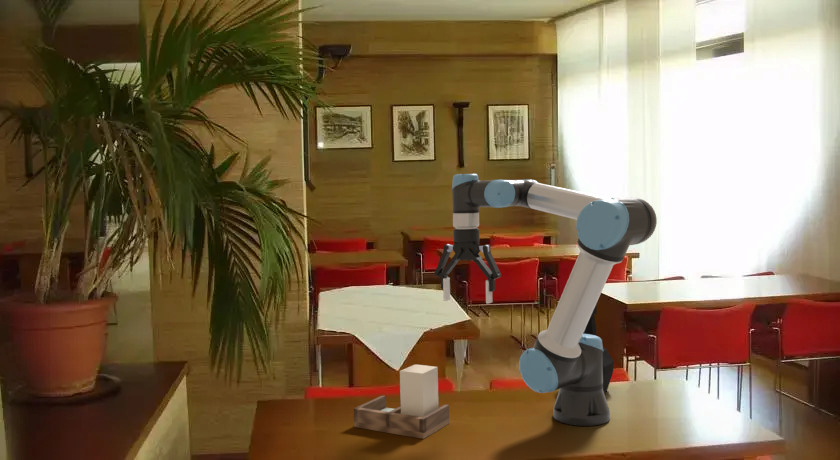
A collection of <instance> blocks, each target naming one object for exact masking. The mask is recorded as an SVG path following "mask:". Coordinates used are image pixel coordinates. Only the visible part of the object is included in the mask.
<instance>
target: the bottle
mask: <svg viewBox="0 0 840 460" xmlns="http://www.w3.org/2000/svg"><path fill="white" fill-rule="evenodd" d="M597 306H598V305H597V304H596V305H595V308H594V310H593V312H592V314H591V317H590V319H589V321H588V323H587V326H586V328H585V330H584V332H583V334H590V335H595V336H597V323H596V317H595V315H597V314H598V313H597V309H598V307H597ZM614 363H615V361H614V360H613V358H612V357H611V354H610V353H609V351H608V349H607V348H605V347H604V346H603V392H604V393H606V392H607V391H608V390H609V386H610V382H611V379H612V377H613V373H614Z"/></svg>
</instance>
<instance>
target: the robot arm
mask: <svg viewBox="0 0 840 460" xmlns="http://www.w3.org/2000/svg"><path fill="white" fill-rule="evenodd" d="M451 187H452V188H451V191H452V192H451V193H452V226H453V228H454V229H453V230H452V235H453V236H452V238H453V239H452V240H453V244H450V243H447V244H444V245H443V251H442V255H441V257H440V259H439V261H438V264H437V265H436V268H435V270H434V276H437V277H439V278H440V289H441V290H443V291H442V292H443V301H444V302H445V301H446V302H448V301H451V282H450V281H451V277H449V274H450V273H451V272H452V271H453V269H454V268H455V266H456V265H457V264H458V263H459V261H469V262H470V261H473V262H474V263H475V265H477V266H478V268H479V269H480V271H481V272H482V273H483V274H484V275H485V277H486V280H485V303H486V304H491V303H493V292H495V290H496V279H499V278H501V277H502V274H501V271H500V269H499V267H498V265H497V263H496V261H495V259H494V256H493V254H492V252H491V251H492V250H491V246H490V244H485V245H481V244H480V240H481V239H480V238H481V237H480V233H481V232H480V229H479V228H478V227H479V226H480V208H495V209H499V208H501V209H503V208H509V207H523V208H527V209H532V210H536V211H540V212H544V213H549V214H553V215H556V216H560V217H565V218H569V219H572V220H576V225H575V227H576V231H577V233H576V234H577V237H578V239H577V241H576V244H577V247H578V249H579V253H578V255H577V258H576V261H575V263H574V265H573V267H572V270H571V272H570V274H569V276H568V277H569V278H568V279H567V281H566V284H565V286H564V288H563V291H562V293H561V296H560V298H559V300H558V303H557V305H556V307H555V311H554V312H553V315H552V316H551V319H550V321H549V324H548V327H547V329H545V330H544V329H543V330H542V331H540V332H539V333H538V335H537V337H536V339H535V342H534V344H533V346H532V347H530V348H527V349H526V350H524V351H523V352H522V354H521V355H520V357H519V361H518V362H519V363H518V367H519V373H520V375H521V378H522V380H523V382H524V383H525V385H526V386H527V387H528V388H530V390H532V391H533V392H535V393H540V394H545V393H552V392H554V391H557V390H558V394H557V396H556V399H555V402H554V405H553V419H554V420H556V421H557V422H558V423H559V422H560V423H562V424H566V425H570V426H578V427H580V426H582V427H583V426H585V427H590V426H600V425H603V424H605V423H608V422H610V419H611V411H610V407H609V404H608V401H607V398H606V395H605V392H603V347H604V346H603V339H602V338H601V337H600V336H597V335H596V336H595V335H590V334H583V332H584V330H585V328H586V326H587V323H588V321H589V319H590V317H591V314H592V312H593V310H594V308H595V305H597V303H598V302H599V301H598V300H599V298H600V297H601V294H602V292H603V289H604V288H605V285H606V283H607V280H608V278H609V276H610V274H611V272H612V269H613V267H614V265H616V264H620V263H622V262H623V260H624V258H625V257H626V254H627V252H628V249H629V247H631V246H634V245H639V244H641V243H644V242H646V241H647V240H648V239H650V238H651V236H653V234H654V232H655V230H656V227H657V223H658V222H657V221H658V220H657V219H658V218H657V214H656V212H655V209H654V207H653V206H652V205H651V204H650V203H649V202H647V201H646V200H644V199H642V198H640V197H627V196H626V197H625V196H621V195H615V196H613V197H606V196H602V195H597V194H591V193H587V192H584V191H578V190H573V189H568V188H564V187H560V186H554V185H549V184H546V183H541V182H538V181H537V180H535V179H529V178H523V179H489V180H480V179H479V175H478V174H477V173H457V174H454V175H453V177H452V185H451ZM451 252H454V255H453V256H452V257H451V259H450V261H449V262H448V260H449V257H450V256H451ZM480 252H481V253H482V254H483V256H484V258H485V261H486V262H485V261H484V260H483V257H482V256H481V254H480ZM486 263H487V264H486ZM446 264H447V265H446Z"/></svg>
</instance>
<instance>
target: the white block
mask: <svg viewBox="0 0 840 460" xmlns="http://www.w3.org/2000/svg"><path fill="white" fill-rule="evenodd" d="M438 367H439V366H433V365H432V366H431V365H426V364H425V365H424V364H418V363H417V364H413V365H410V366H408V367H405V368H404V369H401V370H399V391H400V395H399V396H400V399H399V400H400V406H401V414H405V415H412V416H418V417H424V416H425V415H427V414H429V413H431V412H433V411H434V410H436V409H438V408H440V407H439V375H438V374H439V372H438V371H439V370H438V369H439V368H438Z"/></svg>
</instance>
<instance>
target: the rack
mask: <svg viewBox="0 0 840 460" xmlns="http://www.w3.org/2000/svg"><path fill="white" fill-rule="evenodd" d="M386 401H387V398H386V395H380V396H378V397H376V398H374V399H372V400H369V401H367V402H365V403H363V404H360V405H358V406H356V407H354V408H353V427H354V428H358V429H363V430H370V431H375V432H376V431H377V432H381V433H386V434H387V433H388V434H393V435H394V434H395V435H400V436H404V437H405V436H406V437H410V438H418V439H422V440H424V439H426V438H427V437H429V436H431V435H432V434H434V433H436V432H437V431H439V430H441V429H442V428H444V427H446V426H447V425H449V424H450V423H451V421H450V405H449V404H446V403H445V404H443V405H441V406H440V407H439V408H438V409H436V410H434V411H433V412H431V413H429V414H427V415H425V416H424V417H418V416H412V415H405V414H401V405H400V406H398V407H396V408H391V407H387V402H386Z"/></svg>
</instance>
